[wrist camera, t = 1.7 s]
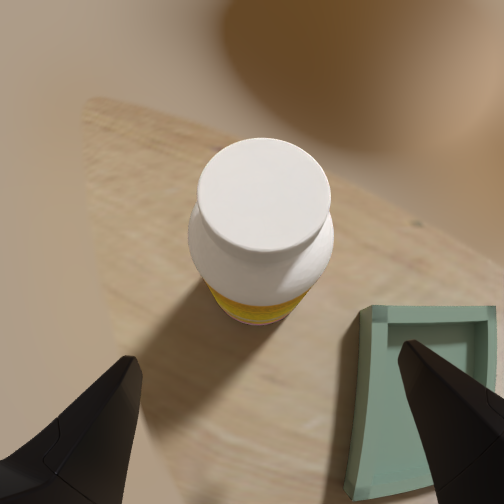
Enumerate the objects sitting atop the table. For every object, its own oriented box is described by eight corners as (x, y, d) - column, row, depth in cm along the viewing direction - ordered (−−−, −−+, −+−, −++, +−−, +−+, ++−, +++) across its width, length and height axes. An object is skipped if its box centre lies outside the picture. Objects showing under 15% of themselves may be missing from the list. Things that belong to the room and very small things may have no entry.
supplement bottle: (315, 310, 22) (389, 252, 9) (226, 337, 21) (192, 313, 9) (285, 228, 24) (314, 107, 12) (202, 252, 23) (156, 143, 11)
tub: (466, 462, 16) (482, 467, 14) (343, 488, 17) (352, 501, 14) (478, 311, 21) (495, 305, 19) (359, 310, 21) (372, 305, 19)
